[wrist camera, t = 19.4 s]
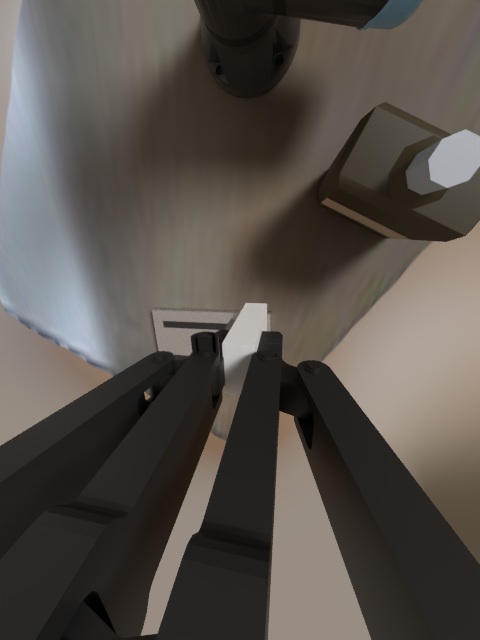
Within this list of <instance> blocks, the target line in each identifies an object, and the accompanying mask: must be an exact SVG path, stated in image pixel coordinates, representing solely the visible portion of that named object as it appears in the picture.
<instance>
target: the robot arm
mask: <svg viewBox="0 0 480 640" xmlns="http://www.w3.org/2000/svg"><path fill="white" fill-rule="evenodd" d="M194 1H195V3H196V6H197V8H198V10H199V13H200V24H201V40H202V46H203V51H204V55H205V58H206V61H207V63H208V65H209V68H210V70H211V72H212V74H213V76H214V78H215V79H216V81H217V82H218V83H219V84H220V86H221V87H222V88H223V89H225V90H226V91H227V92H229V93H231V94H232V95H235V96H238V97H244V98H250V97H255V96H259V95H261V94H263V93H265V92H267V91H269V90H270V89H271V88H273V87H274V86H275V85H276V84H277V83H278V82H279V81H280V80H281V79H282V77H283V76H284V75H285V73H286V72H287V70H288V68H289V66H290V65H291V62H292V60H293V58H294V55H295V52H296V49H297V45H298V40H299V34H300V19H306V20H312V21H319V22H326V23H332V24H339V25H345V26H352V27H356V29H357V30H361V31H362V30H366V29H368V28H376V29H392V28H394V27H397V26H398V25H400V24H402V23H404V22H405V21H406V20H407V19H408V18H409V17H410V16H411V15H412V14H413V13H414V12H415V11H416V9H417V8H418V7H419V6H420V4H421V3H422V1H423V0H194ZM282 339H283V335H282V334H281V333H280V332H273V331H267V304H264V303H246V304H245V305H244V307H243V309H242V310H241V312H240V314H239V316H238V317H237V319H236V321H235V322H234V324H233V326H232V327H231V329H230V330H219V331H217V332H215V333H214V332H209V331H204V332H198V333H195V334H193V335H192V336H191V345H192V353H191V354H190V356H189V357H188V358H187V359H180V360H175V357H174V354H173V353H171V352H168V351H158V352H156V353H153V354H150V355H148V356H147V357H145V358H143V359H142V360H140V361H138V362H137V363H135V364H134V365H132V366H130V367H129V368H127V369H125V370H124V371H122V372H120V373H119V374H117V375H116V376H114V377H112V378H111V379H109V380H107V381H106V382H104V383H103V384H101V385H99V386H98V387H96V388H95V389H93V390H91V391H89V392H88V393H86V394H84V395H83V396H81V397H80V398H78V399H76V400H75V401H73V402H71V403H70V404H68V405H66V406H65V407H63V408H62V409H60V410H58V411H57V412H55V413H53V414H52V415H50V416H49V417H47V418H45V419H44V420H42V421H40V422H39V423H37V424H35V425H34V426H32V427H30V428H29V429H27V430H26V431H24V432H22V433H21V434H19V435H17V436H16V437H14V438H13V439H11V440H9V441H8V442H6V443H5V444H3V445H1V446H0V640H268V623H269V622H268V621H269V601H270V583H271V582H270V581H271V563H272V544H273V524H274V505H275V484H276V466H277V447H278V427H279V411H282V412H284V413H287V414H290V415H293V416H294V422H295V425H296V428H297V430H298V433H299V436H300V439H301V442H302V444H303V447H304V450H305V453H306V456H307V459H308V461H309V464H310V467H311V470H312V473H313V475H314V478H315V481H316V484H317V487H318V490H319V492H320V495H321V498H322V501H323V504H324V507H325V509H326V512H327V515H328V518H329V521H330V523H331V526H332V529H333V532H334V535H335V538H336V540H337V543H338V546H339V549H340V552H341V555H342V557H343V560H344V563H345V566H346V569H347V571H348V574H349V577H350V580H351V583H352V586H353V589H354V591H355V594H356V597H357V599H358V603H359V605H360V608H361V611H362V614H363V617H364V620H365V623H366V625H367V628H368V631H369V634H370V637H371V639H372V640H480V564H479V563H478V562H477V561H476V559H475V558H474V557H473V555H472V554H471V553H470V551H469V550H468V549H467V547H466V546H465V545H464V543H463V542H462V541H461V540H460V538H459V537H458V535H457V534H456V533H455V532H454V530H453V529H452V528H451V526H450V525H449V524H448V522H447V521H446V520H445V518H444V517H443V516H442V515H441V513H440V512H439V511H438V509H437V508H436V507H435V505H434V504H433V503H432V501H431V500H430V499H429V497H428V496H427V495H426V493H425V492H424V491H423V490H422V488H421V487H420V486H419V484H418V483H417V482H416V480H415V479H414V478H413V476H412V475H411V474H410V472H409V471H408V470H407V468H406V467H405V466H404V464H403V463H402V462H401V461H400V459H399V458H398V457H397V455H396V454H395V453H394V452H393V450H392V449H391V447H390V446H389V445H388V444H387V442H386V441H385V439H384V438H383V437H382V436H381V434H380V433H379V432H378V430H377V429H376V428H375V426H374V425H373V424H372V423H371V421H370V420H369V418H368V417H367V416H366V415H365V413H364V412H363V411H362V409H361V408H360V407H359V405H358V404H357V403H356V401H355V400H354V399H353V397H352V396H351V395H350V393H349V392H348V391H347V390H346V388H345V387H344V386H343V384H342V383H341V382H340V380H339V379H338V378H337V376H336V375H335V374H334V372H333V371H332V370H331V369H330V367H328V366H327V365H326V364H324V363H322V362H319V361H315V360H312V361H311V360H308V361H303V362H301V363H299V364H298V366H297V367H294V366H291V365H289V364H287V363H285V362H284V361H283V360H282ZM224 385H225V394H234V395H240V398H239V401H238V404H237V408H236V411H235V414H234V418H233V421H232V425H231V428H230V431H229V435H228V438H227V442H226V445H225V449H224V452H223V455H222V459H221V462H220V465H219V469H218V472H217V475H216V479H215V482H214V486H213V490H212V492H211V496H210V499H209V503H208V506H207V509H206V513H205V516H204V519H203V522H202V525H201V528H200V530H199V532H198V533H196V534H194V535H192V537H191V539H190V541H189V542H188V544H187V547H186V550H185V552H184V555H183V558H182V561H181V564H180V567H179V570H178V573H177V576H176V579H175V582H174V585H173V588H172V591H171V595H170V597H169V601H168V604H167V607H166V610H165V613H164V616H163V619H162V622H161V625H160V628H159V632H158V634H152V635H145V636H140V635H141V632H142V629H143V625H144V621H145V617H146V613H147V606H148V599H149V592H150V588H151V585H152V582H153V579H154V576H155V573H156V571H157V568H158V566H159V563H160V560H161V558H162V555H163V553H164V550H165V547H166V545H167V542H168V540H169V537H170V534H171V532H172V529H173V527H174V524H175V521H176V519H177V516H178V514H179V511H180V508H181V506H182V503H183V500H184V498H185V495H186V493H187V490H188V488H189V485H190V483H191V480H192V477H193V475H194V472H195V470H196V467H197V464H198V462H199V459H200V456H201V454H202V451H203V449H204V446H205V443H206V441H207V438H208V436H209V433H210V431H211V428H212V425H213V423H214V420H215V418H216V415H217V412H218V410H219V407H220V405H221V402H222V389H223V387H224ZM147 389H150V394H151V397H150V398H149V399H148V400H146V399H145V396H144V392H145V391H146V390H147Z"/></svg>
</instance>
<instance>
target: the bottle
mask: <svg viewBox="0 0 480 640" xmlns="http://www.w3.org/2000/svg"><path fill="white" fill-rule="evenodd" d="M318 204H319V205H320V206H322V207H324V208H326V209H328V210H330V211H332V212H334V213H336V214H338V215H340V216H342V217H344V218H346V219H348V220H350V221H352V222H354V223H356V224H358V225H360V226H362V227H364V228H366V229H368V230H370V231H372V232H374V233H376V234H378V235H380V236H382V237H384V238H394V239H411V240H427V241H443V242H447V241H450V240H454V239H457V238H460V237H463V236H466V235H467V234H468V233H469V232H470V231H471V230H472V229H473V227H474V226H475V225H476V224H477V223H478V221H479V220H480V136H478V135H476V134H474V133H472V132H470V131H468V130H466V129H465V130H463V131H461V132H458V133H456V134H453V135H451V134H449V133H447V132H445V131H443V130H441V129H439V128H437V127H435V126H433V125H431V124H429V123H427V122H425V121H423V120H421V119H419V118H417V117H415V116H413V115H411V114H409V113H407V112H405V111H403V110H401V109H399V108H397V107H395V106H392V105H390V104H388V103H386V102H385V103H382V104H380V105H378V106H376V107H375V108H374V109H372V110H371V111H370V112H369V113H368V114H367V115H366V116H364V117H363V118H362V119H361V120H360V122H359V123H358V125H357V126H356V128H355V129H354V131H353V132H352V134H351V135H350V137H349V139H348V140H347V142H346V143H345V145H344V146H343V148H342V149H341V151H340V152H339V154H338V155H337V157H336V159H335V160H334V162H333V163H332V165H331V166H330V168H329V170H328V172H327V174H326V176H325V178H324V180H323V182H322V183H321V185H320V187H319V189H318Z"/></svg>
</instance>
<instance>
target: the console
mask: <svg viewBox="0 0 480 640" xmlns="http://www.w3.org/2000/svg"><path fill="white" fill-rule="evenodd" d="M240 312H241V310H221V309H190V308H159V307H156V308H154V309H152V314H153V320H154V326H155V332H156V338H157V344H158V350H159V351H168V352H171V353H173V354H174V357H175V360H180V359H187V358H188V357H189V356H190V354H191V353H192V345H191V336H192V335H193V334H195V333H198V332H204V331H209V332H214V333H215V332H217V331H219V330H225V327H226V326H227V324H228V323H229V321H230V320H231V319H237V317H238V316H239V314H240ZM267 331H271V311H267Z"/></svg>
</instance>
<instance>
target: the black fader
mask: <svg viewBox="0 0 480 640" xmlns="http://www.w3.org/2000/svg"><path fill="white" fill-rule="evenodd" d="M235 321H236V319H231V320H230V321H229V323H228V324H227V326H226V327H225V330H230V329H231V327H232V326H233V324H234V322H235Z"/></svg>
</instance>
